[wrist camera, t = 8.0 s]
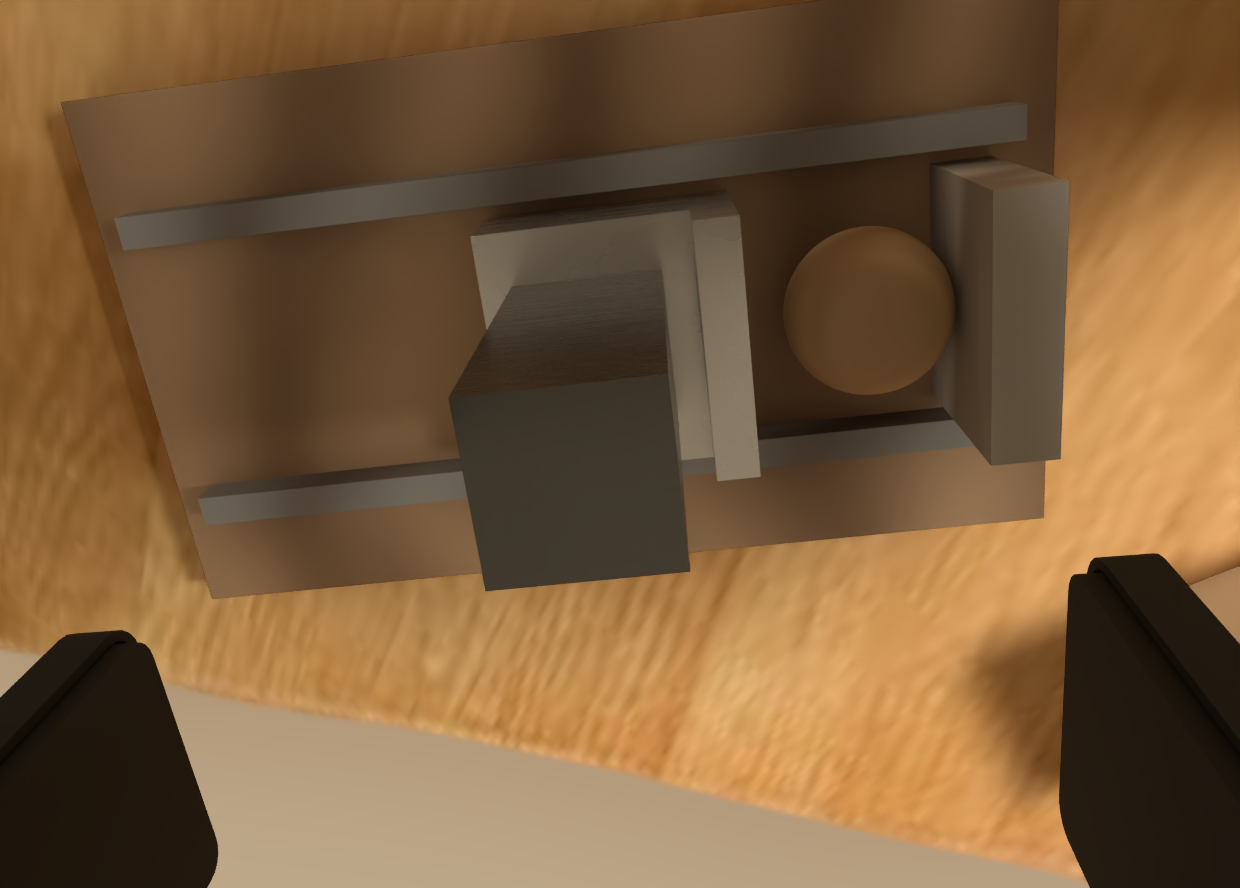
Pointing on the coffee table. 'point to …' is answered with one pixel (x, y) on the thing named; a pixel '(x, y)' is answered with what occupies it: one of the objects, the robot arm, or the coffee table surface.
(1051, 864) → the coffee table surface
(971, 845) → the coffee table surface
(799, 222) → the board
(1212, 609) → the white cube
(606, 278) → the handle
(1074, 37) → the coffee table surface
